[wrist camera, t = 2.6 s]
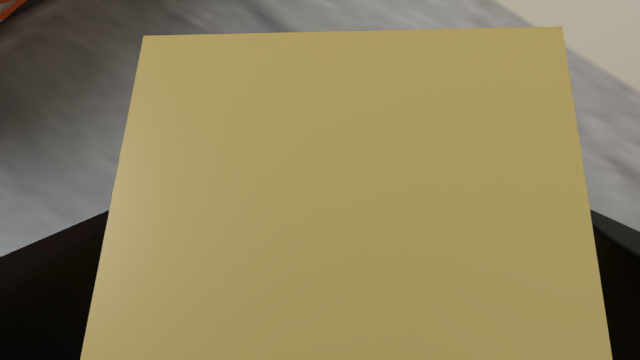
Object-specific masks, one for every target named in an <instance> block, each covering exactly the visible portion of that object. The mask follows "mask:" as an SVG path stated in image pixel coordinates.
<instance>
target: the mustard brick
mask: <svg viewBox="0 0 640 360" xmlns="http://www.w3.org/2000/svg"><path fill="white" fill-rule="evenodd" d="M80 360H613V359H612V353H611V346H610V339H609V333H608V326H607V320H606V313H605V306H604V300H603V293H602V287H601V280H600V273H599V267H598V260H597V254H596V247H595V240H594V234H593V227H592V220H591V214H590V207H589V201H588V194H587V187H586V181H585V174H584V168H583V161H582V154H581V148H580V141H579V135H578V128H577V121H576V115H575V108H574V102H573V95H572V88H571V82H570V75H569V68H568V62H567V55H566V49H565V42H564V36H563V29H562V26H561V27H516V28H471V29H426V30H381V31H336V32H290V33H245V34H200V35H155V36H143V41H142V46H141V51H140V56H139V61H138V66H137V72H136V77H135V82H134V87H133V92H132V97H131V102H130V107H129V112H128V118H127V123H126V128H125V133H124V138H123V143H122V148H121V153H120V158H119V164H118V169H117V174H116V179H115V184H114V189H113V194H112V199H111V204H110V210H109V215H108V220H107V225H106V230H105V235H104V240H103V245H102V250H101V256H100V261H99V266H98V271H97V276H96V281H95V286H94V291H93V296H92V301H91V307H90V312H89V317H88V322H87V327H86V332H85V337H84V342H83V347H82V353H81V358H80Z"/></svg>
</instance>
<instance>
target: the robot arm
mask: <svg viewBox="0 0 640 360" xmlns="http://www.w3.org/2000/svg"><path fill="white" fill-rule="evenodd" d="M590 214H591V220H592V227H593V234H594V240H595V247H596V254H597V260H598V267H599V273H600V280H601V287H602V293H603V300H604V306H605V313H606V320H607V326H608V333H609V339H610V346H611V353H612V359H613V360H640V232H639V231H637V230H634V229H632V228H630V227H628V226H626V225H623V224H621V223H619V222H617V221H615V220H612V219H610V218H608V217H606V216H604V215H602V214H599V213H597V212H595V211H593V210H590ZM108 215H109V210H108V211H106V212H104V213H101V214H99V215H97V216H95V217H92V218H90V219H88V220H85V221H83V222H81V223H78V224H76V225H74V226H71V227H69V228H67V229H64V230H62V231H60V232H57V233H55V234H53V235H51V236H48V237H46V238H44V239H41V240H39V241H37V242H34V243H32V244H30V245H27V246H25V247H23V248H20V249H18V250H16V251H13V252H11V253H9V254H7V255H4V256H2V257H0V360H80V358H81V353H82V347H83V342H84V337H85V332H86V327H87V322H88V317H89V312H90V307H91V301H92V296H93V291H94V286H95V281H96V276H97V271H98V266H99V261H100V256H101V250H102V245H103V240H104V235H105V230H106V225H107V220H108Z"/></svg>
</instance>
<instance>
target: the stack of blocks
mask: <svg viewBox="0 0 640 360" xmlns="http://www.w3.org/2000/svg"><path fill="white" fill-rule="evenodd" d="M26 1H27V0H0V22H2V21H3V20H4V19H6V18H7V17H8V16H9V15H10V14H11V13H12V12H13V11H15V10H16V9H17V8H18V7H19V6H21V5H22V4H23V3H25V2H26Z"/></svg>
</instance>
